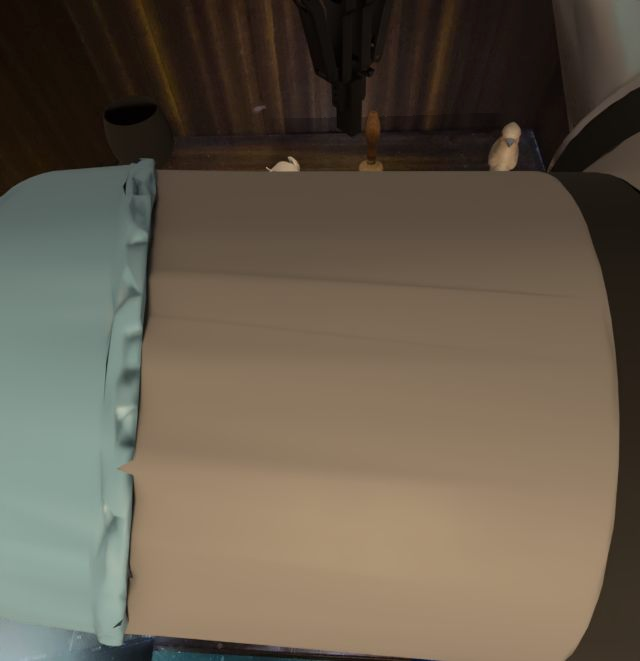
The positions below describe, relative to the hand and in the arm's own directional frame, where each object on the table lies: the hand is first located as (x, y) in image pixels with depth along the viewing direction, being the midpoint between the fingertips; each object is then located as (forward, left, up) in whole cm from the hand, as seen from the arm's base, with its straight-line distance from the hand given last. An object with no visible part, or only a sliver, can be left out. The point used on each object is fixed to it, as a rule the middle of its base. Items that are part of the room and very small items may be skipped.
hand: (348, 129), depth 61 cm
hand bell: (+16, -19, -29) cm, 38 cm away
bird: (+1, -37, -29) cm, 47 cm away
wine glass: (+38, +13, -29) cm, 50 cm away
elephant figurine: (+27, -7, -29) cm, 40 cm away
